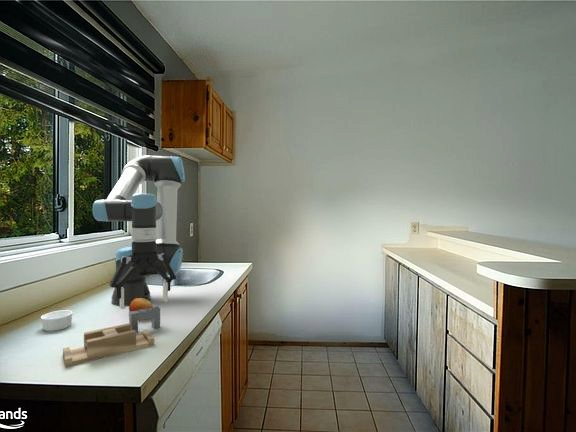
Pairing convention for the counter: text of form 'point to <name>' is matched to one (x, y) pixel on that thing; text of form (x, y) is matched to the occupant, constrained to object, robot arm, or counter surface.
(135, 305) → the fruit
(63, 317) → the ramekin
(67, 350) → the rail
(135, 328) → the clip
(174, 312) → the counter surface
